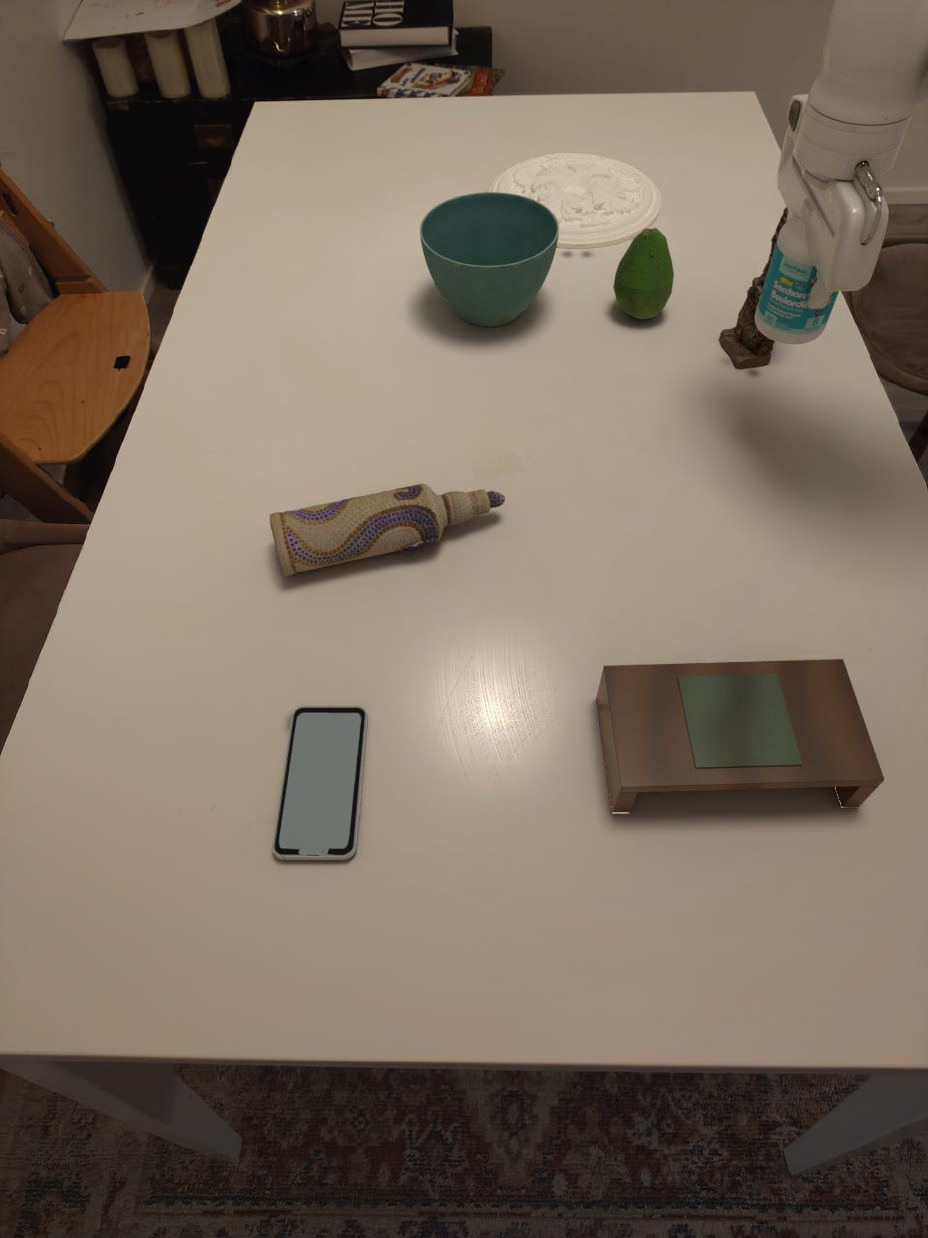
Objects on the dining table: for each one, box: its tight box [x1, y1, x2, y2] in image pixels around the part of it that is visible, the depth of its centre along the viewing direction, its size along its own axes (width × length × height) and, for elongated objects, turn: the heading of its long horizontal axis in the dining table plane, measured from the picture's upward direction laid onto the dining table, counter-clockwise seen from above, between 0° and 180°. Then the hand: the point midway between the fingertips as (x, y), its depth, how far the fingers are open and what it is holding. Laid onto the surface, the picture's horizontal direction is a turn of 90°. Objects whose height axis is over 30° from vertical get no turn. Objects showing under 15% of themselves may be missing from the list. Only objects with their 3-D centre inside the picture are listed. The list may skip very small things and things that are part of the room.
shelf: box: [595, 658, 885, 813], centre depth 74 cm, size 22×12×6 cm, turn 91°
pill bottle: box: [755, 198, 840, 345], centre depth 84 cm, size 8×7×14 cm
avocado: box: [612, 227, 675, 320], centre depth 112 cm, size 8×8×12 cm
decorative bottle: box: [269, 483, 506, 577], centre depth 90 cm, size 26×8×7 cm, turn 105°
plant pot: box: [419, 191, 559, 328], centre depth 113 cm, size 18×18×12 cm
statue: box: [718, 205, 788, 369], centre depth 103 cm, size 7×7×20 cm
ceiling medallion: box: [487, 152, 662, 250], centre depth 133 cm, size 28×28×3 cm
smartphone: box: [271, 705, 369, 861], centre depth 75 cm, size 7×1×15 cm
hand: (802, 279), depth 85 cm, fingers closed on pill bottle, 7 cm apart
